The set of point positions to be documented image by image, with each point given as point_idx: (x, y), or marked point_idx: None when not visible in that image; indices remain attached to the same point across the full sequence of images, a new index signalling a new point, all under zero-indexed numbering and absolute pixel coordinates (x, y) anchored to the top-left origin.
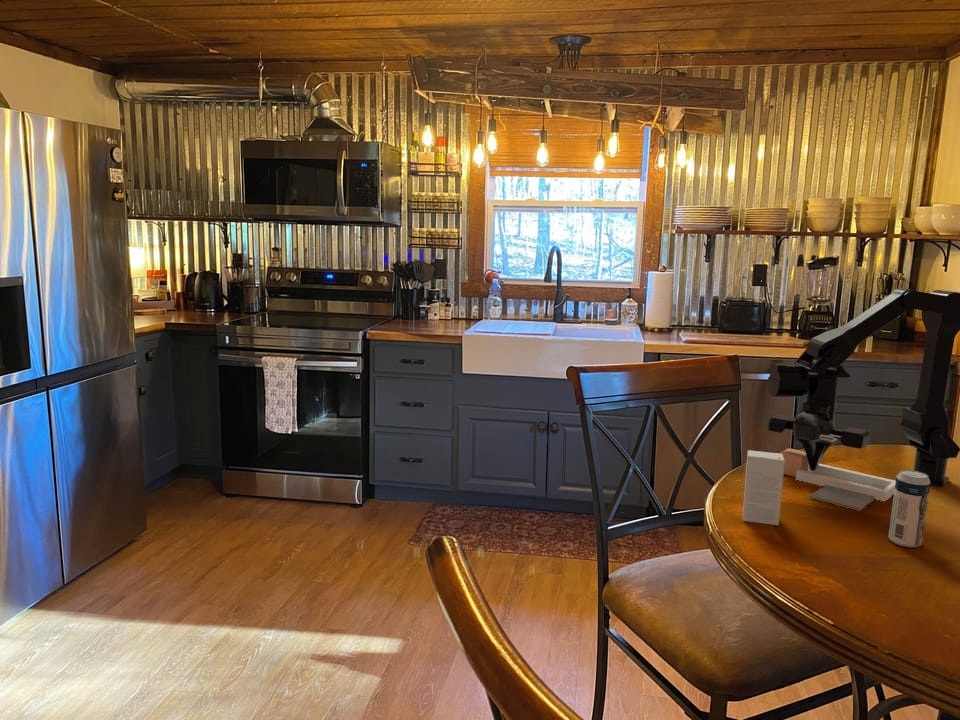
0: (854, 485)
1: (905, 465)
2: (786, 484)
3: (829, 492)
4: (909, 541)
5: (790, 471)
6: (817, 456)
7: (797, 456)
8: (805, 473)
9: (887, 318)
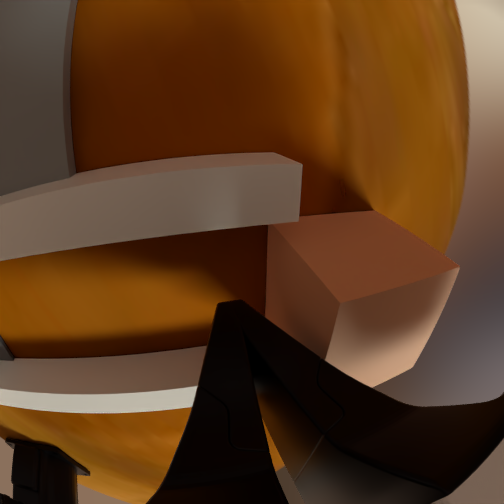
0: None
1: (133, 483)
2: (284, 31)
3: (8, 57)
4: None
5: (335, 224)
6: (216, 388)
7: (375, 291)
8: (226, 167)
9: None
